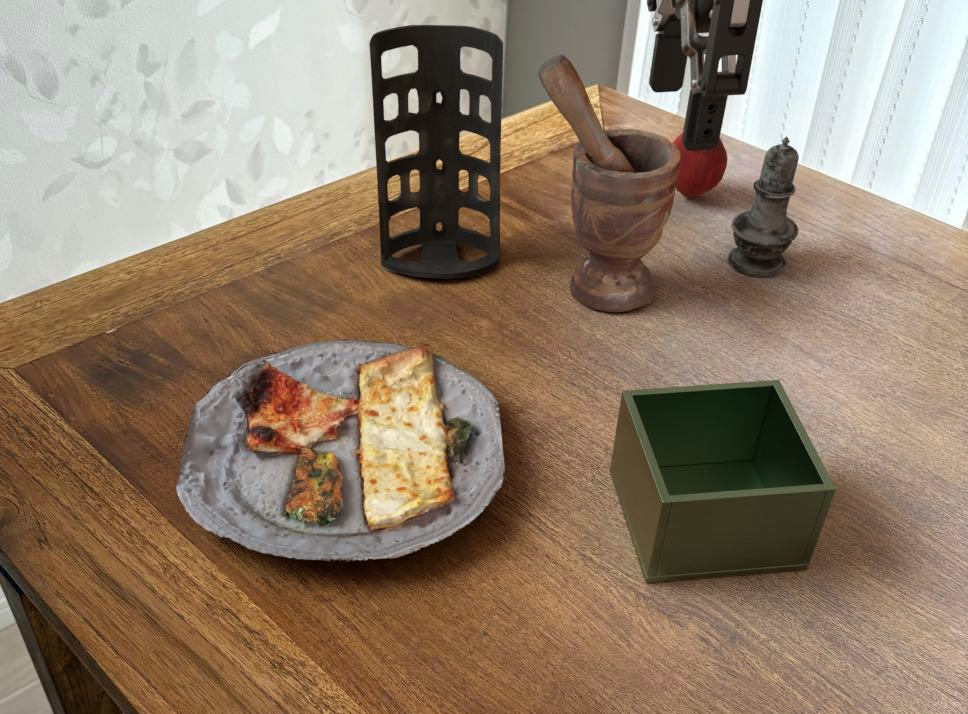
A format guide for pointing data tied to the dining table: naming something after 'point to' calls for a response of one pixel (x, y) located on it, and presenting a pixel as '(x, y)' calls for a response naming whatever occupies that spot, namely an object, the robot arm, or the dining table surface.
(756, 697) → the dining table surface
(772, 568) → the box
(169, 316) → the dining table surface
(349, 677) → the dining table surface
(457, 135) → the holder
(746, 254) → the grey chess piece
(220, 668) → the dining table surface
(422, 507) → the food plate
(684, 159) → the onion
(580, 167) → the mortar and pestle
